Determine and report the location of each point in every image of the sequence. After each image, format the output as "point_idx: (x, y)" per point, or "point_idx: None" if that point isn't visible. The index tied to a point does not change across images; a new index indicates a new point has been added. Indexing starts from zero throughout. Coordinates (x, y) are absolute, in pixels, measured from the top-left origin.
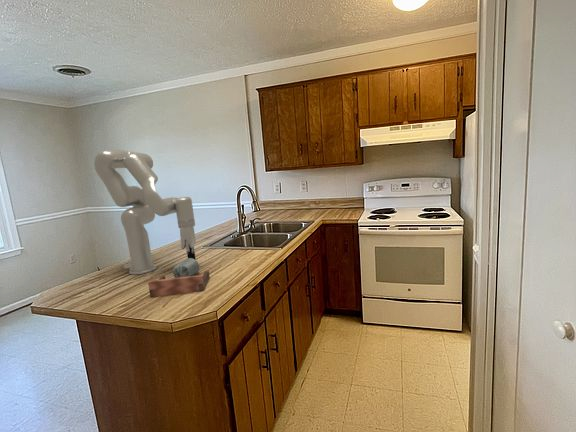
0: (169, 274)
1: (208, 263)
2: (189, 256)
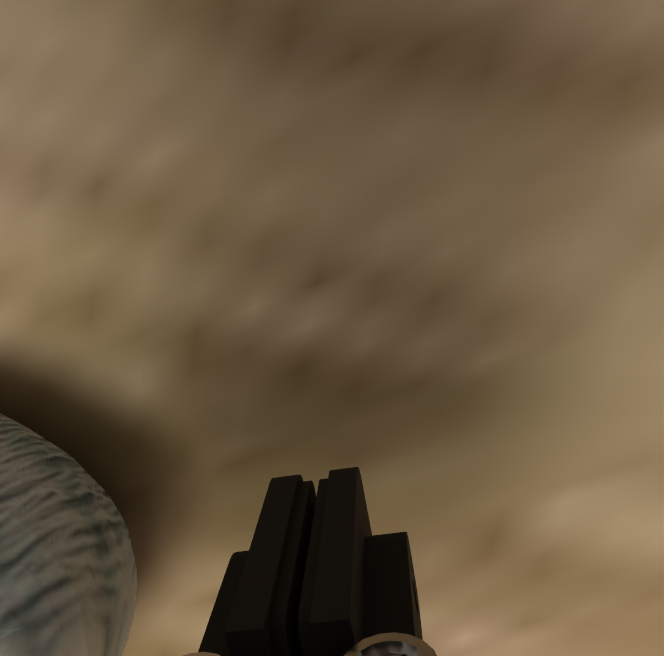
0: (96, 35)
1: (641, 610)
2: (215, 636)
